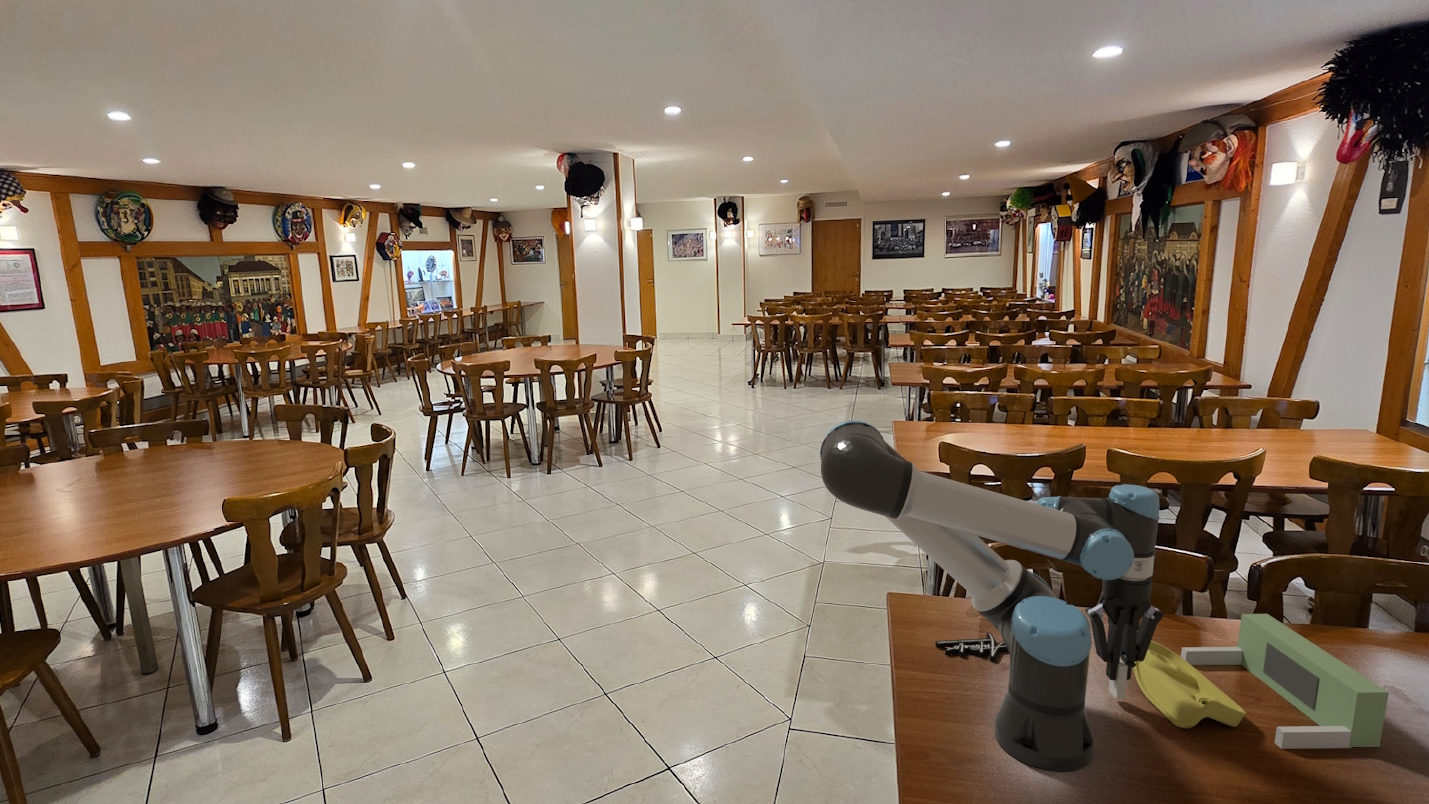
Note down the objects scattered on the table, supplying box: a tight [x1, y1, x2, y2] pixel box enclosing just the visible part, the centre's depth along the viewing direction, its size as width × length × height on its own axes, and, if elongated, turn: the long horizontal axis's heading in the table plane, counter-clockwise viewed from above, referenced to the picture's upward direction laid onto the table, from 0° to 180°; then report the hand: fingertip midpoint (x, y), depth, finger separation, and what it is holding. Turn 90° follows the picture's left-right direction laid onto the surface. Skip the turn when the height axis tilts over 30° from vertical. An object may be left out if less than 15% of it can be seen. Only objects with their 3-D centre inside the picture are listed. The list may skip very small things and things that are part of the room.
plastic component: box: [1133, 640, 1247, 729], centre depth 136 cm, size 20×7×10 cm
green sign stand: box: [1180, 613, 1390, 750], centre depth 134 cm, size 16×27×10 cm, turn 0°
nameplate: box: [935, 632, 1009, 663], centre depth 154 cm, size 28×2×10 cm
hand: (1116, 694), depth 135 cm, fingers closed
